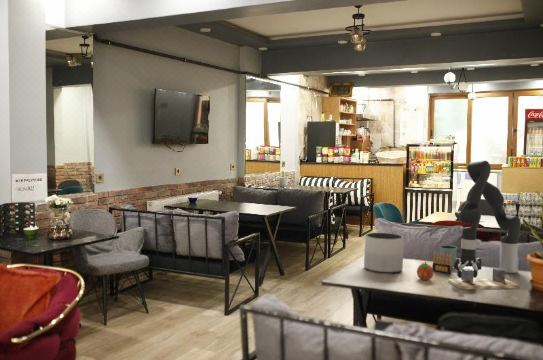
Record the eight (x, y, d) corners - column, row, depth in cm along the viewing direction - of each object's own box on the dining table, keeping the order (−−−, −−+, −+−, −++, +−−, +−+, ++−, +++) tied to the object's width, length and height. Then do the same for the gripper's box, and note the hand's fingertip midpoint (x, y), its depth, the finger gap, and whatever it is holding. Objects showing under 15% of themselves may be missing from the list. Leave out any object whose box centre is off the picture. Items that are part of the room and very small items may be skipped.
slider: (468, 279, 280) (468, 268, 280) (476, 283, 272) (476, 272, 272) (461, 279, 279) (461, 268, 279) (468, 283, 271) (469, 272, 271)
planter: (409, 269, 307) (410, 236, 306) (390, 276, 291) (392, 240, 289) (376, 263, 322) (377, 231, 320) (356, 269, 305) (357, 235, 304)
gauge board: (503, 280, 286) (504, 266, 285) (518, 288, 272) (519, 273, 271) (448, 282, 281) (448, 267, 281) (461, 289, 267) (461, 274, 267)
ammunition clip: (451, 273, 300) (452, 253, 299) (450, 274, 298) (451, 253, 297) (432, 270, 306) (433, 250, 305) (431, 271, 304) (432, 251, 303)
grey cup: (457, 265, 321) (457, 246, 320) (455, 268, 311) (456, 249, 311) (439, 263, 325) (440, 244, 324) (437, 266, 316) (438, 247, 315)
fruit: (434, 278, 287) (434, 261, 287) (431, 283, 279) (432, 264, 278) (418, 276, 291) (418, 259, 290) (415, 281, 282) (416, 262, 281)
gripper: (477, 245, 281) (476, 275, 282) (452, 246, 279) (451, 275, 280) (485, 248, 273) (483, 279, 274) (459, 248, 271) (457, 279, 272)
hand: (467, 277), depth 277 cm, fingers open, 8 cm apart
